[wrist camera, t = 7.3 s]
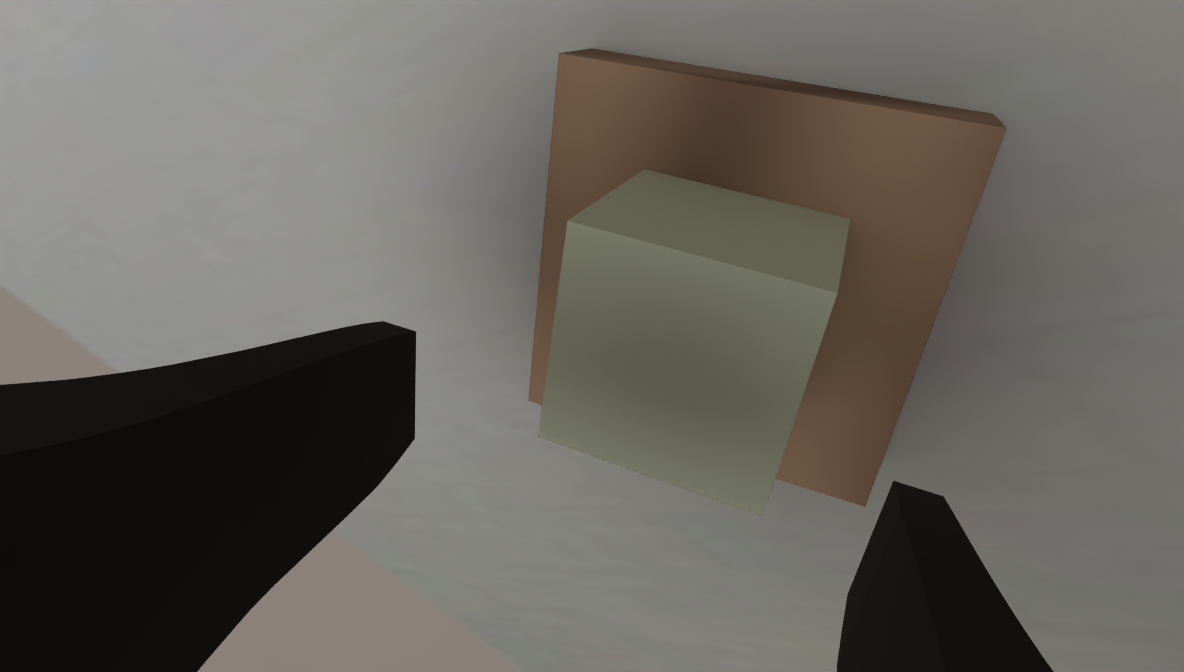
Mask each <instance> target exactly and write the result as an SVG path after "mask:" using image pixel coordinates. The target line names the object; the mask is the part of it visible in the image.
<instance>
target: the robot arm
mask: <svg viewBox="0 0 1184 672" xmlns="http://www.w3.org/2000/svg"><path fill="white" fill-rule="evenodd" d="M415 370H416V331H412V330H409V329H406V328H403V327H400V326H396V325H393V324H390V323H387V322H384V321H382V322H373V323H366V324H360V325H354V326H349V327H344V328H339V329H335V330H330V331H326V332H321V333H317V334H312V335H308V336H304V337H299V338H295V339H291V340H286V341H282V342H278V343H273V344H269V345H265V346H260V347H256V348H252V349H247V350H243V351H238V352H233V353H228V354H223V355H218V356H213V357H208V358H203V359H198V360H193V361H188V362H183V363H178V364H173V365H168V366H162V367H156V368H150V369H144V370H138V371H131V372H124V373H117V374H109V375H102V376H94V377H86V378H78V379H69V380H58V381H46V382H33V383H20V384H8V385H0V672H197V671H198V670H199V669H200V667H201V666H202V665H203V664H204V663H205V661H206V660H207V659H208V658H209V657H210V656H211V654H212V653H213V652H214V651H215V650H216V649H217V647H218V646H219V645H220V644H221V643H222V642H223V641H224V639H225V638H226V637H227V636H228V635H229V634H230V633H231V631H232V630H233V629H234V628H235V627H236V626H237V624H238V623H239V622H240V621H241V620H242V619H243V617H244V616H245V615H246V614H247V613H248V612H249V611H250V610H251V608H253V606H254V605H255V604H256V603H257V602H258V601H259V600H260V599H261V598H262V597H263V596H264V595H265V594H266V593H267V592H268V591H269V590H270V589H271V588H272V587H273V586H274V585H275V584H276V583H277V582H278V581H279V580H280V579H281V578H282V577H283V576H284V575H285V574H287V573H288V572H289V571H290V570H291V569H292V568H293V567H294V566H295V565H296V564H297V563H298V562H299V561H300V560H301V559H302V558H303V557H304V556H306V555H307V554H308V553H309V552H310V551H311V550H312V549H313V548H314V547H315V546H316V545H317V544H318V543H319V542H320V541H321V540H322V539H323V538H324V537H325V536H327V534H329V533H330V532H331V531H332V530H333V529H334V528H335V527H336V526H337V525H338V524H339V523H340V522H341V521H342V520H343V519H344V518H345V517H347V516H348V515H349V514H350V513H351V512H352V511H353V510H354V509H355V508H356V507H357V506H358V505H359V504H360V503H361V502H362V501H363V500H364V499H365V498H366V497H367V496H368V495H369V494H370V493H371V492H372V491H373V490H374V489H375V488H376V487H377V486H378V485H379V484H380V482H381V481H382V480H383V479H384V478H385V476H386V475H387V474H388V473H389V471H390V470H391V469H392V468H393V467H394V465H395V464H396V463H397V461H398V460H399V459H400V457H401V456H402V455H403V453H404V452H405V451H406V449H407V448H408V447H409V445H410V444H411V443H412V441H413V440H414V439H415ZM837 672H1053V670H1052V669H1051V668H1050V666H1049V665H1048V664H1047V662H1046V661H1045V659H1044V658H1043V657H1042V655H1041V654H1040V652H1039V651H1038V649H1037V648H1036V646H1035V645H1034V643H1033V642H1032V640H1031V639H1030V637H1029V636H1028V634H1027V633H1026V631H1025V630H1024V628H1023V627H1022V625H1021V624H1020V622H1019V621H1018V619H1017V618H1016V616H1015V615H1014V613H1013V612H1012V610H1011V608H1010V607H1009V605H1008V604H1007V602H1006V601H1005V599H1004V597H1003V596H1002V594H1001V593H1000V591H999V589H998V588H997V586H996V585H995V583H994V581H993V580H992V578H991V576H990V575H989V573H988V571H987V570H986V568H985V566H984V565H983V563H982V561H981V560H980V558H979V556H978V555H977V553H976V551H975V549H974V548H973V546H972V544H971V543H970V541H969V539H968V537H967V536H966V534H965V532H964V531H963V529H962V527H961V525H960V524H959V522H958V520H957V519H956V517H955V515H954V513H953V512H952V510H951V508H950V507H949V505H948V503H947V502H946V500H945V498H944V497H943V496H940V495H937V494H934V493H931V492H928V491H924V490H921V489H918V488H915V487H912V486H908V485H905V484H902V483H899V482H896V481H893V483H892V486H891V488H890V491H889V493H888V496H887V498H886V501H885V503H884V506H883V508H882V511H881V513H880V516H879V518H878V520H877V523H876V525H875V528H874V530H873V533H872V535H871V538H870V540H869V543H868V545H867V548H866V550H865V553H864V555H863V558H862V560H861V563H860V565H859V568H858V570H857V573H856V575H855V577H854V580H853V582H852V585H851V587H850V590H849V592H848V596H847V602H846V608H845V615H844V621H843V627H842V634H841V641H840V648H839V655H838V662H837Z"/></svg>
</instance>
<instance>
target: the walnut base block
mask: <svg viewBox="0 0 1184 672" xmlns="http://www.w3.org/2000/svg"><path fill="white" fill-rule="evenodd" d="M1005 131H1006V127H1005V126H1004V125H1003V124H1002V123H1001V122H1000V121H999V119H998V118H997V117H996V116H995V115H994V114H989V113H983V112H977V111H971V110H965V109H959V108H953V107H947V106H940V105H934V104H928V103H922V102H916V101H910V100H904V99H898V98H891V97H885V96H879V95H873V94H867V93H861V92H855V91H848V90H842V89H836V88H830V87H824V86H818V85H812V84H806V83H799V82H793V81H787V80H781V79H775V78H769V77H763V76H756V75H750V74H744V73H738V72H732V71H726V70H720V69H714V68H707V67H701V66H695V65H689V64H683V63H677V62H671V61H664V60H658V59H652V58H646V57H640V56H634V55H628V54H622V53H615V52H609V51H603V50H597V49H586V50H579V51H572V52H564V53H559V60H558V71H557V82H556V94H555V105H554V116H553V128H552V139H551V151H550V162H549V173H548V185H547V196H546V207H545V219H544V230H543V241H542V253H541V264H540V276H539V287H538V298H537V310H536V321H535V332H534V344H533V355H532V366H531V378H530V389H529V401H532V402H535V403H538V404H541V405H542V404H543V397H544V390H545V382H546V375H547V368H548V360H549V353H550V346H551V338H552V331H553V324H554V316H555V309H556V302H557V294H558V287H559V280H560V272H561V265H562V258H563V250H564V243H565V236H566V228H567V221H568V220H569V219H571V218H572V217H574V216H575V215H577V214H578V213H580V212H581V211H583V210H584V209H586V208H587V207H589V206H590V205H592V204H593V203H595V202H596V201H598V200H599V199H601V198H602V197H604V196H605V195H607V194H608V193H610V192H611V191H613V190H614V189H616V188H617V187H619V186H620V185H622V184H623V183H625V182H626V181H627V180H629V179H630V178H632V177H633V176H635V175H636V174H638V173H639V172H641V171H642V170H644V169H647V170H651V171H655V172H659V173H663V174H667V175H671V176H676V177H680V178H684V179H688V180H692V181H696V182H700V183H705V184H709V185H713V186H717V187H721V188H725V189H729V190H734V191H738V192H742V193H746V194H750V195H754V196H758V197H763V198H767V199H771V200H775V201H779V202H783V203H787V204H792V205H796V206H800V207H804V208H808V209H812V210H816V211H821V212H825V213H829V214H833V215H837V216H841V217H845V218H850V224H849V230H848V235H847V241H846V247H845V253H844V259H843V264H842V270H841V276H840V282H839V288H838V293H837V296H836V299H835V302H834V305H833V308H832V311H831V314H830V317H829V320H828V323H827V326H826V329H825V332H824V335H823V338H822V341H821V344H820V347H819V350H818V353H817V356H816V358H815V361H814V364H813V367H812V370H811V373H810V376H809V379H808V382H807V385H806V388H805V391H804V394H803V397H802V400H801V403H800V406H799V409H798V412H797V415H796V418H795V421H794V424H793V427H792V430H791V432H790V435H789V438H788V441H787V444H786V447H785V450H784V453H783V456H782V459H781V462H780V465H779V468H778V471H777V474H776V477H775V478H776V479H779V480H782V481H785V482H788V483H791V484H795V485H798V486H801V487H804V488H807V489H810V490H814V491H817V492H820V493H823V494H826V495H829V496H833V497H836V498H839V499H842V500H845V501H848V502H852V503H855V504H858V505H861V506H864V507H865V505H866V503H867V500H868V497H869V495H870V492H871V489H872V487H873V484H874V481H875V479H876V476H877V473H878V471H879V468H880V465H881V463H882V460H883V457H884V455H885V452H886V449H887V447H888V444H889V441H890V439H891V436H892V433H893V430H894V428H895V425H896V422H897V420H898V417H899V414H900V412H901V409H902V406H903V404H904V401H905V398H906V396H907V393H908V390H909V388H910V385H911V382H912V380H913V377H914V374H915V372H916V369H917V366H918V364H919V361H920V358H921V356H922V353H923V350H924V348H925V345H926V342H927V339H928V337H929V334H930V331H931V329H932V326H933V323H934V321H935V318H936V315H937V313H938V310H939V307H940V305H941V302H942V299H943V297H944V294H945V291H946V289H947V286H948V283H949V281H950V278H951V275H952V273H953V270H954V267H955V265H956V262H957V259H958V257H959V254H960V251H961V248H962V246H963V243H964V240H965V238H966V235H967V232H968V230H969V227H970V224H971V222H972V219H973V216H974V214H975V211H976V208H977V206H978V203H979V200H980V198H981V195H982V192H983V190H984V187H985V184H986V182H987V179H988V176H989V174H990V171H991V168H992V166H993V163H994V160H995V157H996V155H997V152H998V149H999V147H1000V144H1001V141H1002V139H1003V136H1004V133H1005Z"/></svg>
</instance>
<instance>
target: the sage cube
mask: <svg viewBox="0 0 1184 672" xmlns="http://www.w3.org/2000/svg"><path fill="white" fill-rule="evenodd" d="M849 224H850V218H845V217H841V216H837V215H833V214H829V213H825V212H821V211H816V210H812V209H808V208H804V207H800V206H796V205H792V204H787V203H783V202H779V201H775V200H771V199H767V198H763V197H758V196H754V195H750V194H746V193H742V192H738V191H734V190H729V189H725V188H721V187H717V186H713V185H709V184H705V183H700V182H696V181H692V180H688V179H684V178H680V177H676V176H671V175H667V174H663V173H659V172H655V171H651V170H647V169H644V170H642V171H641V172H639V173H638V174H636V175H635V176H633V177H632V178H630V179H629V180H627V181H626V182H625V183H623V184H622V185H620V186H619V187H617V188H616V189H614V190H613V191H611V192H610V193H608V194H607V195H605V196H604V197H602V198H601V199H599V200H598V201H596V202H595V203H593V204H592V205H590V206H589V207H587V208H586V209H584V210H583V211H581V212H580V213H578V214H577V215H575V216H574V217H572V218H571V219H569V220H568V221H567V228H566V236H565V243H564V250H563V258H562V265H561V272H560V280H559V287H558V294H557V302H556V309H555V316H554V324H553V331H552V338H551V346H550V353H549V360H548V368H547V375H546V382H545V390H544V397H543V404H542V412H541V419H540V426H539V434H538V437H540V438H543V439H546V440H549V441H552V442H554V443H557V444H560V445H563V446H566V447H568V448H571V449H574V450H577V451H580V452H583V453H585V454H588V455H591V456H594V457H597V458H599V459H602V460H605V461H608V462H611V463H614V464H616V465H619V466H622V467H625V468H628V469H630V470H633V471H636V472H639V473H642V474H645V475H647V476H650V477H653V478H656V479H659V480H661V481H664V482H667V483H670V484H673V485H676V486H678V487H681V488H684V489H687V490H690V491H692V492H695V493H698V494H701V495H704V496H707V497H709V498H712V499H715V500H718V501H721V502H723V503H726V504H729V505H732V506H735V507H738V508H740V509H743V510H746V511H749V512H752V513H754V514H757V515H760V516H762V515H763V512H764V509H765V506H766V504H767V501H768V498H769V495H770V492H771V489H772V486H773V483H774V480H775V477H776V474H777V471H778V468H779V465H780V462H781V459H782V456H783V453H784V450H785V447H786V444H787V441H788V438H789V435H790V432H791V430H792V427H793V424H794V421H795V418H796V415H797V412H798V409H799V406H800V403H801V400H802V397H803V394H804V391H805V388H806V385H807V382H808V379H809V376H810V373H811V370H812V367H813V364H814V361H815V358H816V356H817V353H818V350H819V347H820V344H821V341H822V338H823V335H824V332H825V329H826V326H827V323H828V320H829V317H830V314H831V311H832V308H833V305H834V302H835V299H836V296H837V293H838V288H839V282H840V276H841V270H842V264H843V259H844V253H845V247H846V241H847V235H848V230H849Z"/></svg>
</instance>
